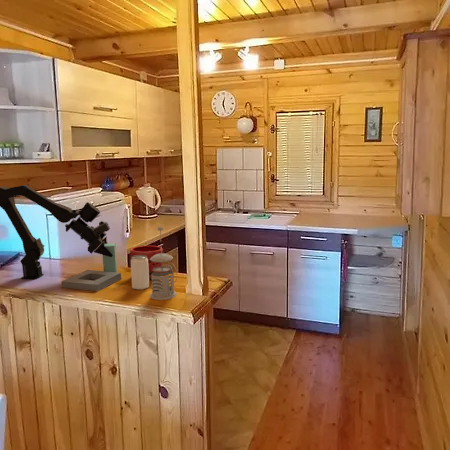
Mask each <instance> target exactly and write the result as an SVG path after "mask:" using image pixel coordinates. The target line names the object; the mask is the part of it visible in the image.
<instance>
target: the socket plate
mask: <svg viewBox="0 0 450 450" xmlns="http://www.w3.org/2000/svg"><path fill="white" fill-rule="evenodd" d="M121 279H122V272H118V271H117V272H106V271H104V270H95V269H94V270H93V269H86V270H84V271H81V272H80V273H78V274H75V275H72V276H70V277H68V278H66V279H63V280H61V286H62V287H61V288H64V289H72V290H73V289H74V290H84V291H91V292H92V291H93V292H99V291H101V290H103V289H104V288H107V287H108V286H111V285H113V284H115V283H116V282H118V281H121Z"/></svg>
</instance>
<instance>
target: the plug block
mask: <svg viewBox="0 0 450 450" xmlns="http://www.w3.org/2000/svg"><path fill="white" fill-rule="evenodd" d="M105 246H106V248H107V249H108V250H109V251H110V252H111V253H112V255H113V256H112V257H109V256H105V255H102V265H103V271H106V272H117V273H118V264H117V248H116V243H113V242H112V243H108V244H105Z"/></svg>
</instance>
